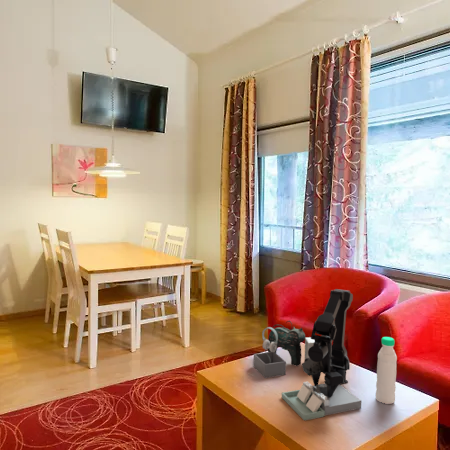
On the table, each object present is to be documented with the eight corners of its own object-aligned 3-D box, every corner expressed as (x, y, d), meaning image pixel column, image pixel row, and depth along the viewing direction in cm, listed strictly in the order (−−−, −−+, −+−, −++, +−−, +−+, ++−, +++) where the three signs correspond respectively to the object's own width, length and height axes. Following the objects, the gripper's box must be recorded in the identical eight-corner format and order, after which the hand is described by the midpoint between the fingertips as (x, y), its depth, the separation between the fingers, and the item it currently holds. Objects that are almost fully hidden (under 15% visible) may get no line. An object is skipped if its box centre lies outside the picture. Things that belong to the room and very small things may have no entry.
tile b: (315, 395, 153) (313, 393, 152) (322, 401, 148) (320, 400, 148) (307, 406, 152) (305, 405, 152) (315, 413, 147) (313, 412, 147)
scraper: (320, 385, 164) (320, 375, 163) (342, 403, 150) (343, 392, 149) (302, 388, 161) (303, 378, 161) (324, 407, 147) (325, 396, 147)
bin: (300, 394, 162) (300, 389, 162) (324, 416, 146) (324, 411, 146) (281, 397, 159) (281, 392, 159) (304, 420, 143) (304, 415, 143)
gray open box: (273, 363, 191) (273, 351, 190) (285, 374, 179) (285, 361, 179) (253, 366, 187) (253, 354, 187) (264, 378, 176) (265, 364, 175)
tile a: (304, 385, 160) (302, 384, 159) (311, 391, 155) (309, 390, 155) (298, 397, 159) (296, 396, 159) (305, 403, 154) (303, 402, 154)
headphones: (259, 369, 185) (260, 326, 183) (264, 366, 188) (265, 324, 186) (273, 374, 179) (274, 331, 177) (279, 372, 182) (280, 329, 180)
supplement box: (323, 369, 185) (324, 343, 184) (307, 369, 185) (307, 342, 184) (319, 363, 192) (320, 337, 191) (304, 362, 193) (304, 336, 192)
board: (335, 388, 167) (336, 381, 167) (361, 408, 152) (361, 400, 152) (302, 394, 162) (302, 387, 162) (324, 415, 147) (325, 407, 147)
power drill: (305, 365, 190) (306, 323, 188) (297, 369, 185) (298, 326, 184) (272, 352, 204) (273, 314, 203) (264, 356, 200) (265, 316, 198)
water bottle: (393, 406, 154) (396, 343, 152) (373, 401, 157) (376, 339, 155) (396, 398, 160) (399, 337, 158) (377, 393, 163) (380, 333, 161)
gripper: (293, 346, 160) (292, 383, 161) (319, 365, 143) (317, 407, 144) (317, 342, 164) (316, 379, 165) (345, 361, 146) (344, 402, 148)
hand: (322, 391), depth 155 cm, fingers open, 9 cm apart
